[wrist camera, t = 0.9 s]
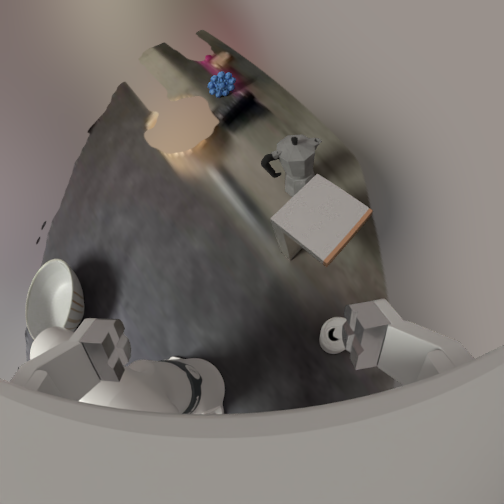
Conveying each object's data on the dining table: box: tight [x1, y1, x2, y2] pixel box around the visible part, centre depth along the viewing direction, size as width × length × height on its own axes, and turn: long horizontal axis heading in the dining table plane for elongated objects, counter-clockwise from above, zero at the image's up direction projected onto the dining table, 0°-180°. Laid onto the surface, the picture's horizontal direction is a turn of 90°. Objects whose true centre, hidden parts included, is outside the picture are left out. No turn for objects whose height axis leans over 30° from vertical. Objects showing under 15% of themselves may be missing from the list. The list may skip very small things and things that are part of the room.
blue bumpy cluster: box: [208, 72, 236, 97], centre depth 95 cm, size 12×7×12 cm, turn 98°
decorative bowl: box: [26, 259, 84, 340], centre depth 69 cm, size 27×27×12 cm
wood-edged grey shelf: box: [271, 174, 373, 267], centre depth 58 cm, size 14×14×16 cm
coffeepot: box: [261, 135, 322, 197], centre depth 66 cm, size 15×9×18 cm, turn 108°
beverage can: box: [319, 317, 347, 354], centre depth 51 cm, size 6×6×12 cm
